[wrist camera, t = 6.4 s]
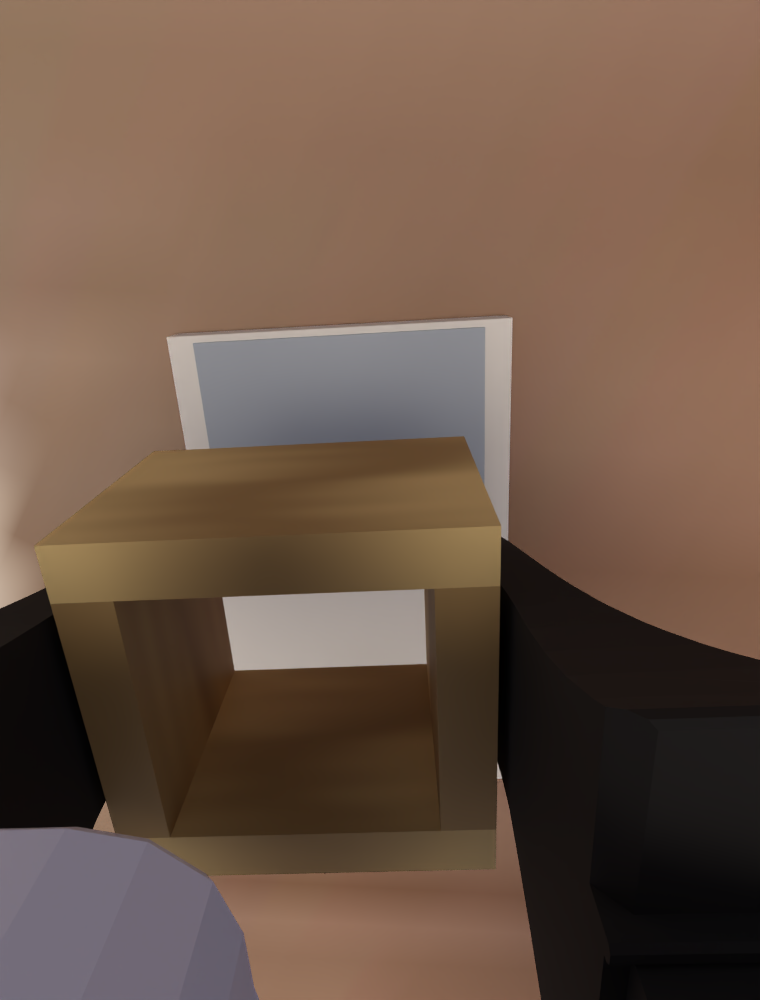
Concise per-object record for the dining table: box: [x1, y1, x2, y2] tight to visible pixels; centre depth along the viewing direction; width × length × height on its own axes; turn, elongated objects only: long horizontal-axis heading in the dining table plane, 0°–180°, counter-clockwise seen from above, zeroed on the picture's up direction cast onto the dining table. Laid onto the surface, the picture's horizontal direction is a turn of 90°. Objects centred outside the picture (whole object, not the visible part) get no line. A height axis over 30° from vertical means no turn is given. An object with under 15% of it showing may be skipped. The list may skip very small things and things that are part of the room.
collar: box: [34, 436, 501, 876], centre depth 10 cm, size 6×6×4 cm
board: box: [167, 315, 512, 779], centre depth 21 cm, size 10×17×1 cm, turn 3°
